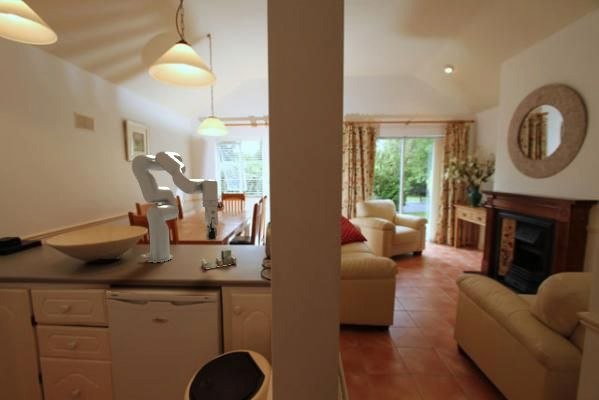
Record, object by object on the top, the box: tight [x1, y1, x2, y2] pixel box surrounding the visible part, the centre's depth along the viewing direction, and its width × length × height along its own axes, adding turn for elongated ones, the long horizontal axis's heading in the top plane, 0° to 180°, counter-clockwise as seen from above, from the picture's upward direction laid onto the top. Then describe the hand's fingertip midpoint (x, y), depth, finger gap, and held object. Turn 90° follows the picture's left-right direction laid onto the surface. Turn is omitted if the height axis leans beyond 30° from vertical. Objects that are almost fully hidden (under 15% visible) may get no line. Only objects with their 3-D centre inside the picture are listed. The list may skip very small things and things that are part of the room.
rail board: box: [201, 247, 238, 269], centre depth 132 cm, size 16×8×8 cm, turn 122°
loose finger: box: [205, 225, 218, 242], centre depth 129 cm, size 4×4×7 cm
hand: (211, 237), depth 129 cm, fingers closed on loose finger, 4 cm apart
